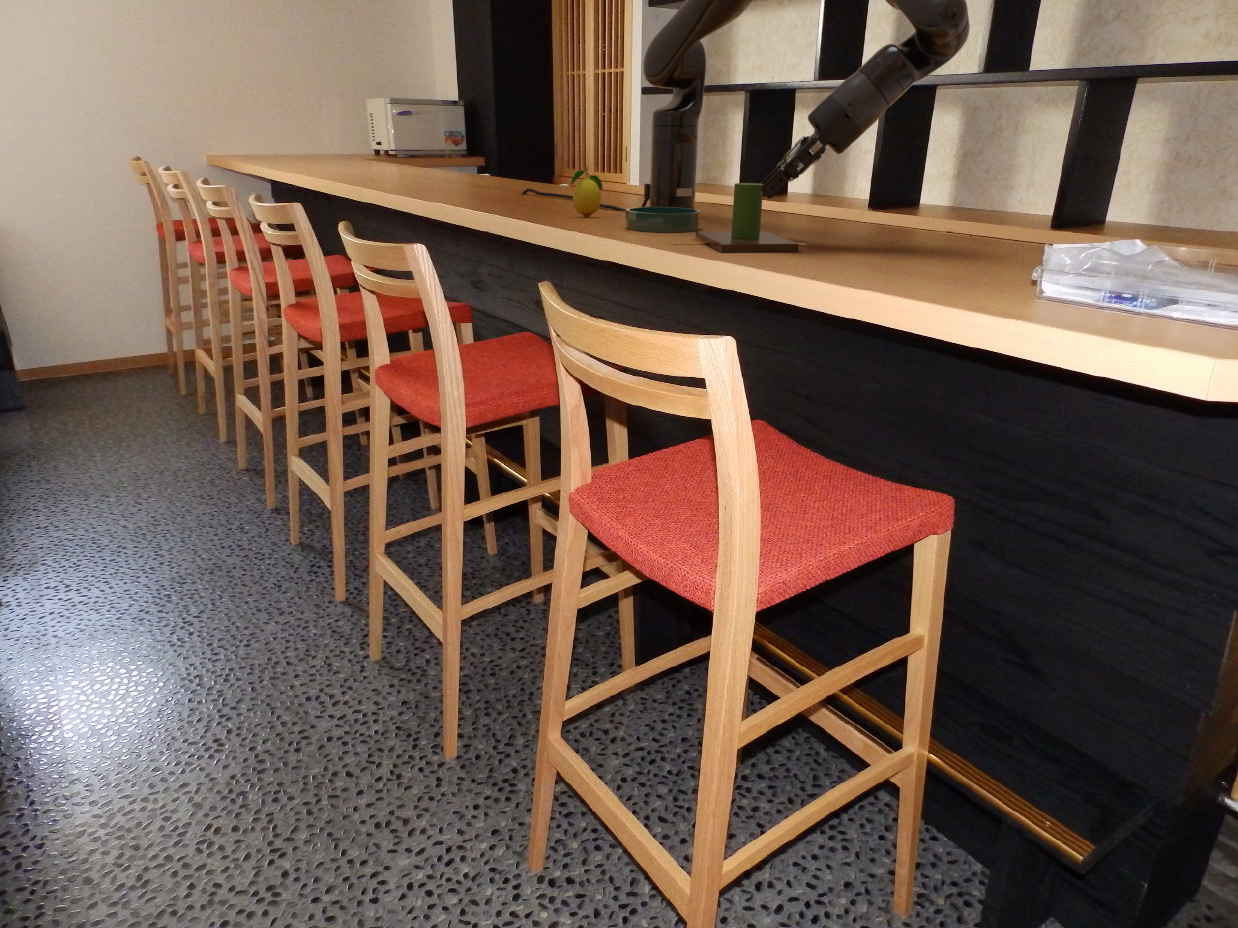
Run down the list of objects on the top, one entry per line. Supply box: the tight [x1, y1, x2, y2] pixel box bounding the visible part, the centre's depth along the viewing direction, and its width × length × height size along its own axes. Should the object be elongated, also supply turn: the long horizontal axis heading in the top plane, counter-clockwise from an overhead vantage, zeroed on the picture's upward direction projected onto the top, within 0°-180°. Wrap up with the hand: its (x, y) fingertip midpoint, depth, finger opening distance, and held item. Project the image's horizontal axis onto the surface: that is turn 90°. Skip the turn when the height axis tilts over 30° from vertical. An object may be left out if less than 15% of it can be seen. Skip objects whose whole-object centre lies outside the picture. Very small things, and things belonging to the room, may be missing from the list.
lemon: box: [570, 165, 603, 218], centre depth 165 cm, size 7×6×10 cm
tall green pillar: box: [731, 182, 764, 239], centre depth 131 cm, size 4×4×8 cm
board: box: [695, 230, 800, 253], centre depth 132 cm, size 16×12×1 cm
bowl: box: [624, 206, 702, 234], centre depth 149 cm, size 13×13×4 cm
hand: (763, 192), depth 129 cm, fingers open, 8 cm apart
